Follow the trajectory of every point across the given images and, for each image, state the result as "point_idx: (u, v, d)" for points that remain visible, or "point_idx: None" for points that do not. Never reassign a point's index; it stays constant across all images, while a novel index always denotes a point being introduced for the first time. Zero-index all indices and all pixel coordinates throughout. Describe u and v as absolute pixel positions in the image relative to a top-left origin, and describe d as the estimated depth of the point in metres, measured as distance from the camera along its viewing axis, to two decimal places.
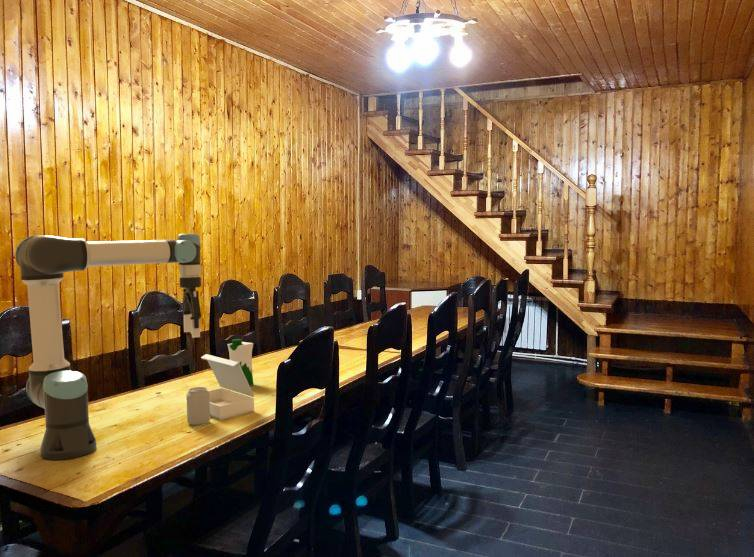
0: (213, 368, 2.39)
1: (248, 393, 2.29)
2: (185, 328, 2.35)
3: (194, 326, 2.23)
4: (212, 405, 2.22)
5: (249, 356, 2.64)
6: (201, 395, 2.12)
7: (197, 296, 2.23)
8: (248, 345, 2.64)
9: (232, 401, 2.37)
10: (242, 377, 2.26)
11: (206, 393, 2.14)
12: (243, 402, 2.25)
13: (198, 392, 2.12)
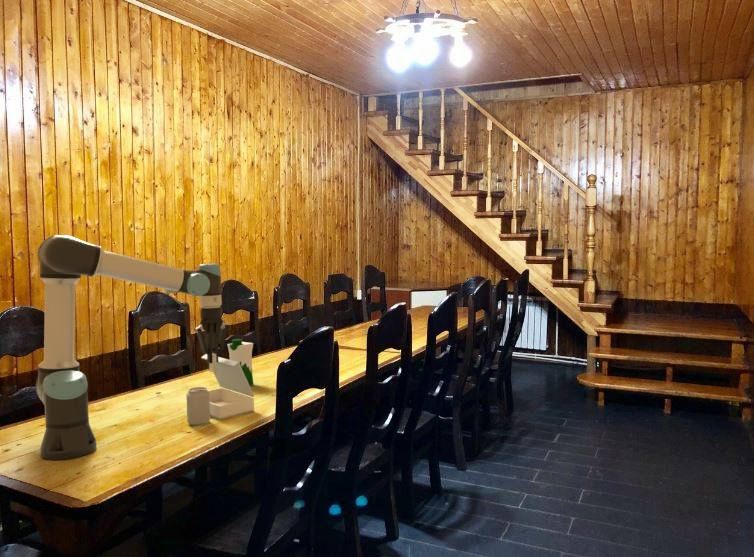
0: None
1: (249, 393, 2.29)
2: None
3: None
4: (212, 405, 2.22)
5: (249, 356, 2.64)
6: (201, 395, 2.12)
7: (199, 333, 2.23)
8: (248, 345, 2.64)
9: (232, 401, 2.37)
10: (242, 377, 2.26)
11: (206, 393, 2.14)
12: (243, 402, 2.25)
13: (198, 392, 2.12)
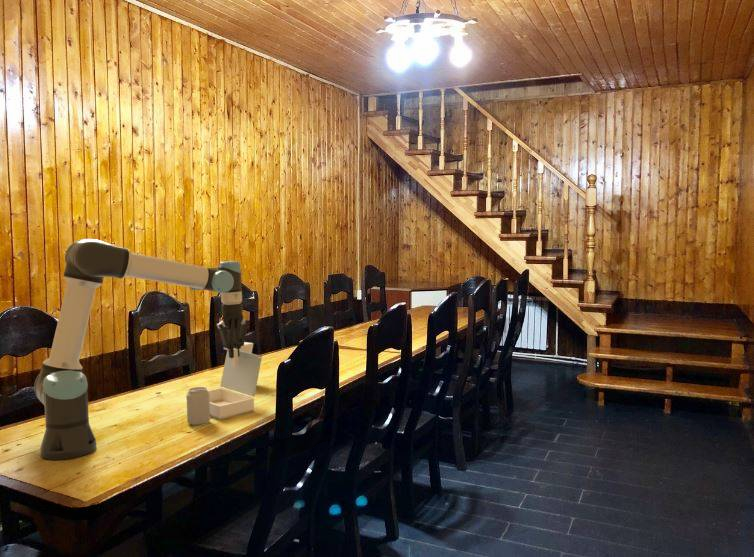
0: (227, 363, 2.43)
1: (250, 392, 2.29)
2: None
3: None
4: (212, 405, 2.22)
5: None
6: (201, 395, 2.12)
7: (221, 329, 2.29)
8: (248, 345, 2.64)
9: (232, 401, 2.37)
10: (255, 372, 2.30)
11: (206, 393, 2.14)
12: (243, 402, 2.25)
13: (198, 392, 2.12)
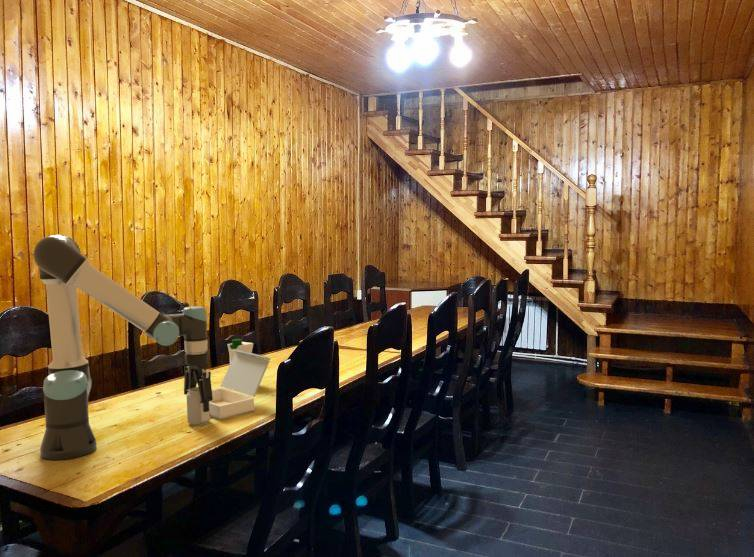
0: (232, 365, 2.45)
1: (251, 392, 2.30)
2: None
3: (204, 410, 2.12)
4: (212, 405, 2.22)
5: None
6: None
7: (209, 377, 2.11)
8: (248, 345, 2.64)
9: (232, 401, 2.37)
10: (260, 373, 2.31)
11: None
12: (243, 402, 2.25)
13: (198, 392, 2.12)
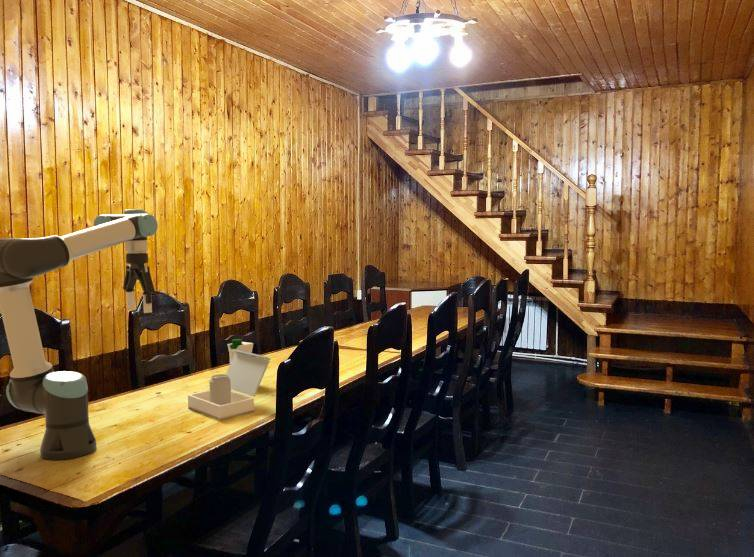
0: (232, 365, 2.45)
1: (251, 392, 2.30)
2: (128, 305, 2.33)
3: (146, 301, 2.23)
4: (212, 405, 2.22)
5: None
6: (223, 381, 2.28)
7: (148, 271, 2.24)
8: (248, 345, 2.64)
9: (232, 401, 2.37)
10: (260, 373, 2.31)
11: (228, 380, 2.29)
12: (243, 402, 2.25)
13: (220, 379, 2.28)
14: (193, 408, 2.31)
